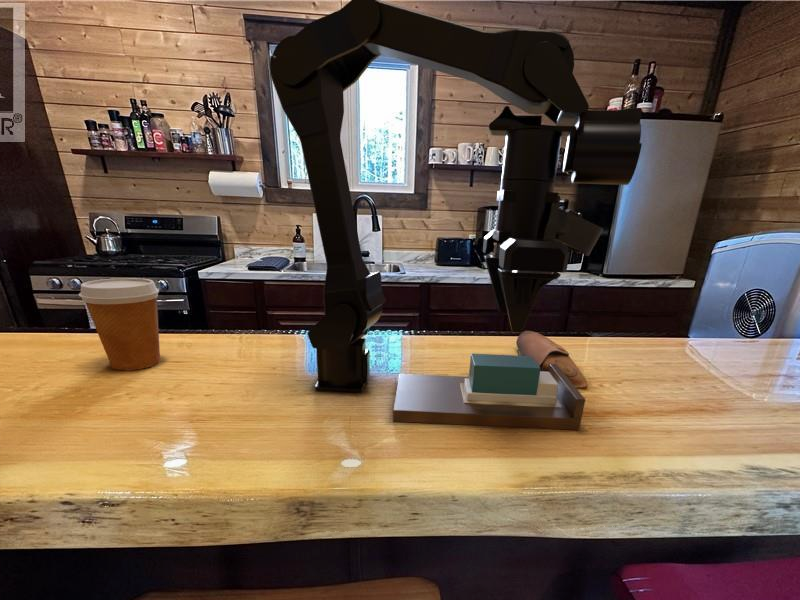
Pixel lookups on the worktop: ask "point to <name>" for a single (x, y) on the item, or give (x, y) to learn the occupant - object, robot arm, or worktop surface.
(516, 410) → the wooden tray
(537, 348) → the sunglasses case
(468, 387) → the teal block
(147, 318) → the disposable coffee cup
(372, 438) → the worktop surface
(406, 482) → the worktop surface
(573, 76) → the robot arm
